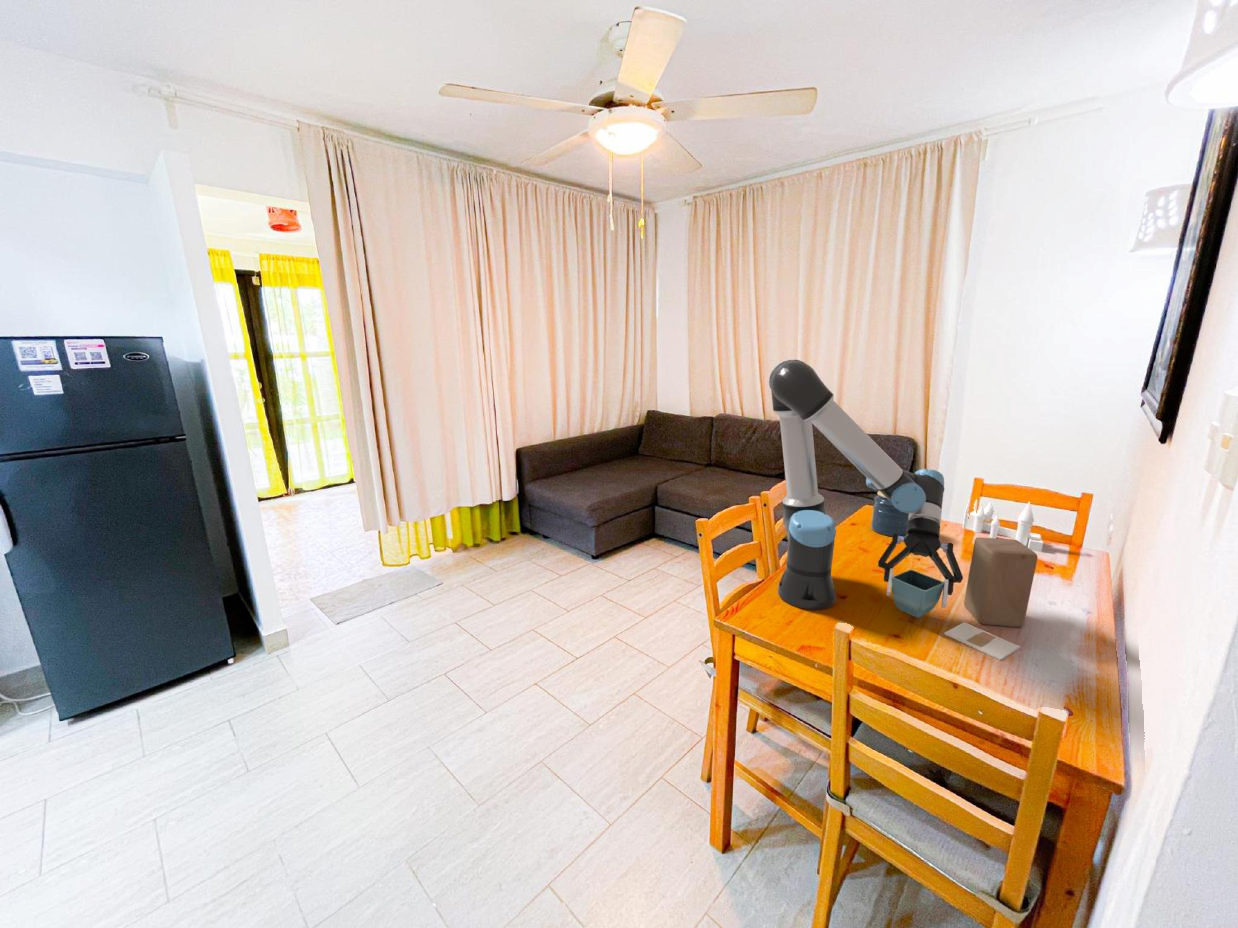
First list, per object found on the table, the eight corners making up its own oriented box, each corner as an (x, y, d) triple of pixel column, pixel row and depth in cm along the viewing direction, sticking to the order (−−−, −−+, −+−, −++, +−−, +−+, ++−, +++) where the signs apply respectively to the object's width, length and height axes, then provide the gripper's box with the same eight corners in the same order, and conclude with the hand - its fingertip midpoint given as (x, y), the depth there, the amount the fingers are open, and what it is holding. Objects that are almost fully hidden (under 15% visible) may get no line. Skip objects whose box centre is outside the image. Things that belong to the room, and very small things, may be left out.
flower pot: (886, 608, 131) (890, 576, 129) (906, 599, 135) (910, 568, 133) (919, 624, 124) (925, 591, 122) (939, 614, 128) (945, 582, 126)
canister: (879, 522, 197) (885, 478, 192) (915, 531, 187) (922, 485, 183) (864, 530, 189) (869, 485, 184) (901, 540, 179) (907, 492, 175)
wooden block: (1024, 629, 124) (1040, 554, 120) (979, 625, 126) (993, 551, 122) (1003, 608, 134) (1017, 538, 129) (961, 605, 136) (973, 535, 131)
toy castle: (1040, 553, 168) (1049, 507, 164) (956, 530, 187) (963, 489, 183) (1054, 542, 176) (1063, 498, 172) (972, 522, 196) (979, 482, 192)
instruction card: (944, 634, 123) (944, 632, 123) (963, 623, 127) (964, 621, 127) (1000, 660, 113) (1000, 658, 113) (1019, 647, 117) (1020, 645, 117)
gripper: (974, 537, 133) (969, 616, 124) (874, 521, 144) (863, 593, 135) (980, 524, 127) (975, 607, 118) (875, 509, 139) (863, 583, 130)
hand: (915, 599), depth 127 cm, fingers closed on flower pot, 11 cm apart
